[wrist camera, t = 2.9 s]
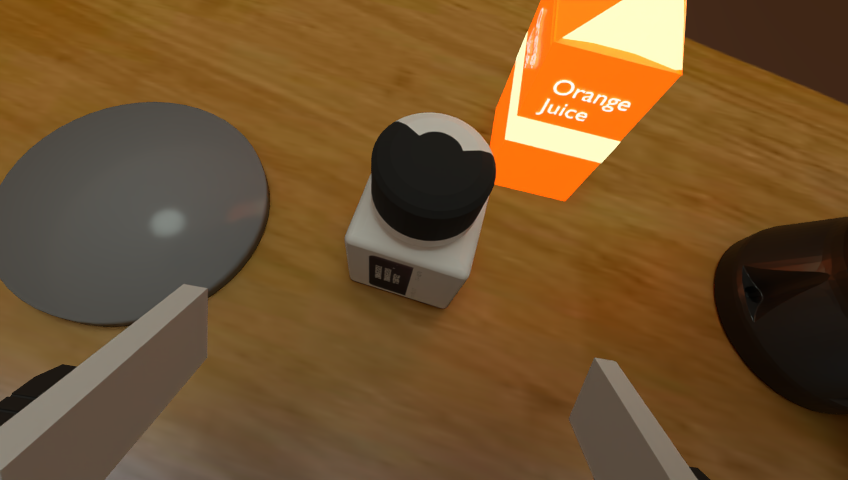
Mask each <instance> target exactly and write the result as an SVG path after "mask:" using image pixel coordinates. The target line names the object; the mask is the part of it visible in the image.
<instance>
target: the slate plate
mask: <svg viewBox="0 0 848 480" xmlns="http://www.w3.org/2000/svg"><path fill="white" fill-rule="evenodd" d="M269 207H270V193H269V186H268V181H267V178H266V175H265V172H264V169H263V167H262V165H261V162H260V160H259V158H258V156H257V154H256V152H255V150H254V149H253V147H252V145H251V144H250V143H249V142H248V140H247V139H246V138H245V137H244V136H243V135H242V134H241V133H240V132H239V131H238V130H237V129H236V128H235V127H233V126H232V125H230V124H229V123H228V122H226V121H225V120H223V119H221V118H219V117H217V116H215V115H214V114H211V113H209V112H206V111H203V110H201V109H198V108H194V107H190V106H186V105H180V104H174V103H161V102H146V103H134V104H126V105H120V106H116V107H111V108H106V109H103V110H100V111H97V112H94V113H91V114H88V115H86V116H83V117H81V118H78V119H76V120H74V121H72V122H70V123H68V124H66V125H64V126H62V127H60V128H58V129H57V130H55V131H54V132H52V133H51V134H49V135H48V136H46V137H44V138H43V139H42V140H41V141H39V142H38V143H37V144H36V145H34V146H33V147H32V148H31V149H30V150H29V151H27V152H26V153H25V154H24V155H23V156H22V157H21V158H20V159H19V160H18V161H17V163H16V164H15V165H14V166H13V168H12V169H11V170H10V171H9V173H8V174H7V175H6V177H5V179H4V180H3V182H2V183H1V185H0V279H1V280H2V281H3V282H4V284H5V285H6V286H7V287H8V289H9V290H11V291H12V292H13V293H14V294H15V295H16V296H17V297H19V298H20V299H21V300H23V301H24V302H26V303H27V304H29V305H31V306H32V307H34V308H36V309H38V310H41V311H43V312H46V313H48V314H51V315H53V316H56V317H60V318H63V319H66V320H69V321H73V322H77V323H81V324H85V325H94V326H103V327H117V326H130V325H132V324H133V323H134V322H136V321H137V320H138V319H139V318H141V317H142V316H143V315H145V314H146V313H147V312H148V311H150V310H151V309H152V308H154V307H155V306H156V305H157V304H159V303H160V302H161V301H163V300H164V299H165V298H166V297H168V296H169V295H170V294H172V293H173V292H174V291H175V290H177V289H178V288H179V287H181V286H182V285H183V284H187V285H192V286H198V287H204V288H208V297H210V296H211V295H213V294H214V293H216V292H217V291H218V290H219V289H221V288H222V287H223V286H224V285H226V284H227V283H228V282H229V281H230V280H231V279H232V278H233V277H234V276H235V275H236V274H237V273H238V272H239V271H240V270H241V269H242V268H243V266H244V265H245V264H246V263H247V261H248V260H249V259H250V257H251V256H252V254H253V252H254V251H255V249H256V248H257V246H258V244H259V242H260V240H261V237H262V235H263V233H264V230H265V227H266V223H267V220H268V215H269Z"/></svg>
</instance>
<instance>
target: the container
mask: <svg viewBox="0 0 848 480" xmlns="http://www.w3.org/2000/svg"><path fill="white" fill-rule="evenodd" d="M495 179H496V163H495V159H494V156H493V153H492V151H491V149H490V147H489V145H488V144H487V142H486V141H485V140H484V138H483V137H482V136H481V135H480V134H479V133H478V132H477V131H476V130H475V129H474V128H472V127H471V126H470V125H468V124H467V123H465V122H463V121H462V120H459V119H457V118H455V117H452V116H449V115H445V114H441V113H418V114H414V115H409V116H406V117H404V118H401V119H399V120H397V121H395V122H394V123H392V124H391V125H389V126H388V127H387V128H386V129H385V130H384V131H383V132H382V133H381V134H380V136H379V137H378V139H377V141H376V143H375V145H374V148H373V151H372V158H371V175H370V177H369V180H368V182H367V184H366V187H365V189H364V192H363V194H362V196H361V199H360V201H359V204H358V206H357V209H356V211H355V213H354V216H353V218H352V221H351V223H350V225H349V228H348V230H347V233H346V235H345V245H346V252H347V259H348V267H349V274H350V278H351V279H352V280H354V281H357V282H360V283H363V284H366V285H369V286H373V287H376V288H379V289H382V290H385V291H388V292H392V293H395V294H398V295H401V296H404V297H407V298H411V299H414V300H417V301H420V302H423V303H427V304H430V305H433V306H436V307H439V308H446V307H447V306H448V305H449V303H450V302H451V301H452V299H453V298H454V296H455V295H456V294H457V292H458V291H459V290H460V288H461V287H462V285H463V284H464V283H465V281H466V280H467V278H468V277H469V275H470V271H471V267H472V263H473V259H474V255H475V251H476V247H477V243H478V239H479V235H480V231H481V227H482V223H483V219H484V215H485V211H486V207H487V203H488V198H489V195H490V193H491V191H492V188H493V186H494V183H495Z"/></svg>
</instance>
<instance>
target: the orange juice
mask: <svg viewBox="0 0 848 480" xmlns="http://www.w3.org/2000/svg"><path fill="white" fill-rule="evenodd" d="M686 1H687V0H541V1H540V4H539V6H538V9H537V11H536V13H535V16H534V18H533V21H532V23H531V25H530V28H529V30H528V32H527V34H526V36H525V38H524V41H523V43H522V46H521V48H520V51H519V53H518V55H517V58H516V62H515V64H514V66H513V69H512V71H511V74H510V76H509V78H508V81H507V83H506V86H505V88H504V90H503V93H502V95H501V98H500V100H499V103H498V105H497V107H496V111H495V117H494V124H493V130H492V136H491V142H490V149H491V151H492V153H493V156H494V159H495V163H496V179H495V183H494V184H495V185H500V186H504V187H508V188H512V189H516V190H520V191H524V192H528V193H532V194H536V195H540V196H545V197H549V198H553V199H557V200H561V201H566V200H567V199H568V198H569V197H570V196H571V194H572V193H573V192H574V191H575V190H576V189H577V188H578V187H579V186H580V185H581V184H582V182H583V181H584V180H585V179H586V178H587V177H588V176H589V175H590V174H591V173H592V172H593V171H594V169H595V168H596V167H597V166H598V165H599V164H600V163H602V162H603V161H604V160H605V159H606V157H607V156H608V155H609V154H610V153H611V152H612V151H613V150H614V149H615V148H616V147H617V146H618V144H619V143H620V142H621V140H622V139H623V138H624V137H625V136H626V135H627V133H628V132H629V131H630V130H631V129H632V128H633V127H634V126H635V125H636V124H637V123H638V121H639V120H640V119H641V118H642V117H643V116H644V115H645V114H646V113H647V112H648V111H649V110H650V108H651V107H652V106H653V105H654V104H655V103H656V102H657V101H658V100H659V99H660V98H661V96H662V95H663V94H664V93H665V92H666V91H667V90H668V89H669V88H670V87H671V86H672V84H673V83H674V82H675V81H676V80H677V79H678V78H679V77H680V76H681V74H682V67H683V51H684V34H685V18H686Z"/></svg>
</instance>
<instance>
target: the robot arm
mask: <svg viewBox="0 0 848 480" xmlns="http://www.w3.org/2000/svg"><path fill="white" fill-rule="evenodd" d="M715 298H716V304H717V308H718V312H719V315H720V318H721V321H722V324H723V326H724V328H725V331H726V333H727V335H728V337H729V339H730V340H731V342H732V344H733V345H734V347H735V349H736V350H737V352H738V353H739V354H740V356H741V357H742V359H743V360H744V361H745V362H746V364H747V365H748V366H749V367H750V368H751V369H752V370H753V372H754V373H755V374H756V375H757V376H758V377H759V378H761V379H762V380H763V381H764V382H765V383H766V384H767V385H768V386H770V387H771V388H772V389H774V390H775V391H776V392H778V393H779V394H781V395H782V396H784V397H785V398H787V399H789V400H790V401H792V402H794V403H796V404H798V405H800V406H802V407H805V408H807V409H810V410H813V411H817V412H821V413H826V414H848V217H842V218H834V219H827V220H820V221H812V222H805V223H798V224H790V225H783V226H776V227H772V228H768V229H765V230H762V231H759V232H757V233H755V234H753V235H751V236H749V237H747V238H744V239H742V240H740V241H738V242H737V243H735V244H734V245H732V246H731V247H730V248H729V249H728V250H727V251H726V252H725V254H724V255H723V257H722V258H721V260H720V262H719V265H718V268H717V272H716V277H715ZM207 314H208V288H204V287H198V286H192V285H187V284H183V285H182V286H181V287H179V288H178V289H177V290H175V291H174V292H173V293H172V294H170V295H169V296H168V297H166V298H165V299H164V300H163V301H161V302H160V303H159V304H157V305H156V306H155V307H154V308H152V309H151V310H150V311H148V312H147V313H146V314H145V315H143V316H142V317H141V318H139V319H138V320H137V321H136V322H134V323H133V324H132V325H130V326H129V327H128V328H127V329H125V330H124V331H123V332H121V333H120V334H119V335H118V336H116V337H115V338H114V339H112V340H111V341H110V342H109V343H107V344H106V345H105V346H103V347H102V348H101V349H100V350H98V351H97V352H96V353H94V354H93V355H92V356H91V357H89V358H88V359H87V360H85V361H84V362H83V363H81V364H80V365H79V366H78V367H76V366H70V365H64V364H62V365H60V366H58V367H56V368H53V369H51V370H49V371H47V372H45V373H42V374H40V375H38V376H36V377H34V378H33V379H31V380H30V381H28V382H27V383H26V384H24V385H23V386H21V387H20V388H19V389H17V390H16V391H14V392H13V393H12V395H11V396H10V397H6V398H5V399H3V400H2V401H1V402H0V480H105V478H106V477H107V476H108V475H109V474H110V472H111V471H112V470H113V469H114V468H115V467H116V465H117V464H118V463H119V462H120V461H121V459H122V458H123V457H124V456H125V455H126V453H127V452H128V451H129V450H130V449H131V448H132V446H133V445H134V444H135V443H136V442H137V440H138V439H139V438H140V437H141V436H142V434H143V433H144V432H145V431H146V430H147V428H148V427H149V426H150V425H151V424H152V423H153V421H154V420H155V419H156V418H157V417H158V415H159V414H160V413H161V412H162V411H163V409H164V408H165V407H166V406H167V405H168V403H169V402H170V401H171V400H172V399H173V398H174V396H175V395H176V394H177V393H178V392H179V390H180V389H181V388H182V387H183V386H184V384H185V383H186V382H187V381H188V380H189V379H190V377H191V376H192V375H193V374H194V373H195V371H196V370H197V369H198V368H199V367H200V365H201V364H202V363H203V362H204V361H205V359H206V358H207ZM569 421H570V423H571V425H572V428H573V430H574V433H575V435H576V437H577V440H578V442H579V444H580V447H581V449H582V451H583V454H584V456H585V458H586V461H587V463H588V465H589V468H590V470H591V472H592V475H593V477H594V479H595V480H710V479H709V478H708V477H707V476H706V475H705V474H704V473H703V472H702V471H700V470H699V469H698V468H694V467H689V466H688V465H687V464H686V462H685V461H684V459H683V458H682V456H681V455H680V453H679V452H678V451H677V449H676V448H675V446H674V445H673V443H672V442H671V440H670V439H669V438H668V436H667V435H666V433H665V432H664V430H663V429H662V427H661V426H660V425H659V423H658V422H657V420H656V419H655V417H654V416H653V414H652V413H651V412H650V410H649V409H648V407H647V406H646V404H645V403H644V401H643V400H642V399H641V397H640V396H639V394H638V393H637V391H636V390H635V388H634V387H633V386H632V384H631V383H630V381H629V380H628V378H627V377H626V375H625V374H624V373H623V371H622V370H621V368H620V367H619V365H618V364H617V362H616V361H611V360H605V359H600V358H594V360H593V362H592V365H591V367H590V369H589V372H588V374H587V377H586V379H585V381H584V384H583V386H582V388H581V391H580V393H579V396H578V398H577V400H576V403H575V405H574V407H573V410H572V412H571V415H570V417H569Z"/></svg>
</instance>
